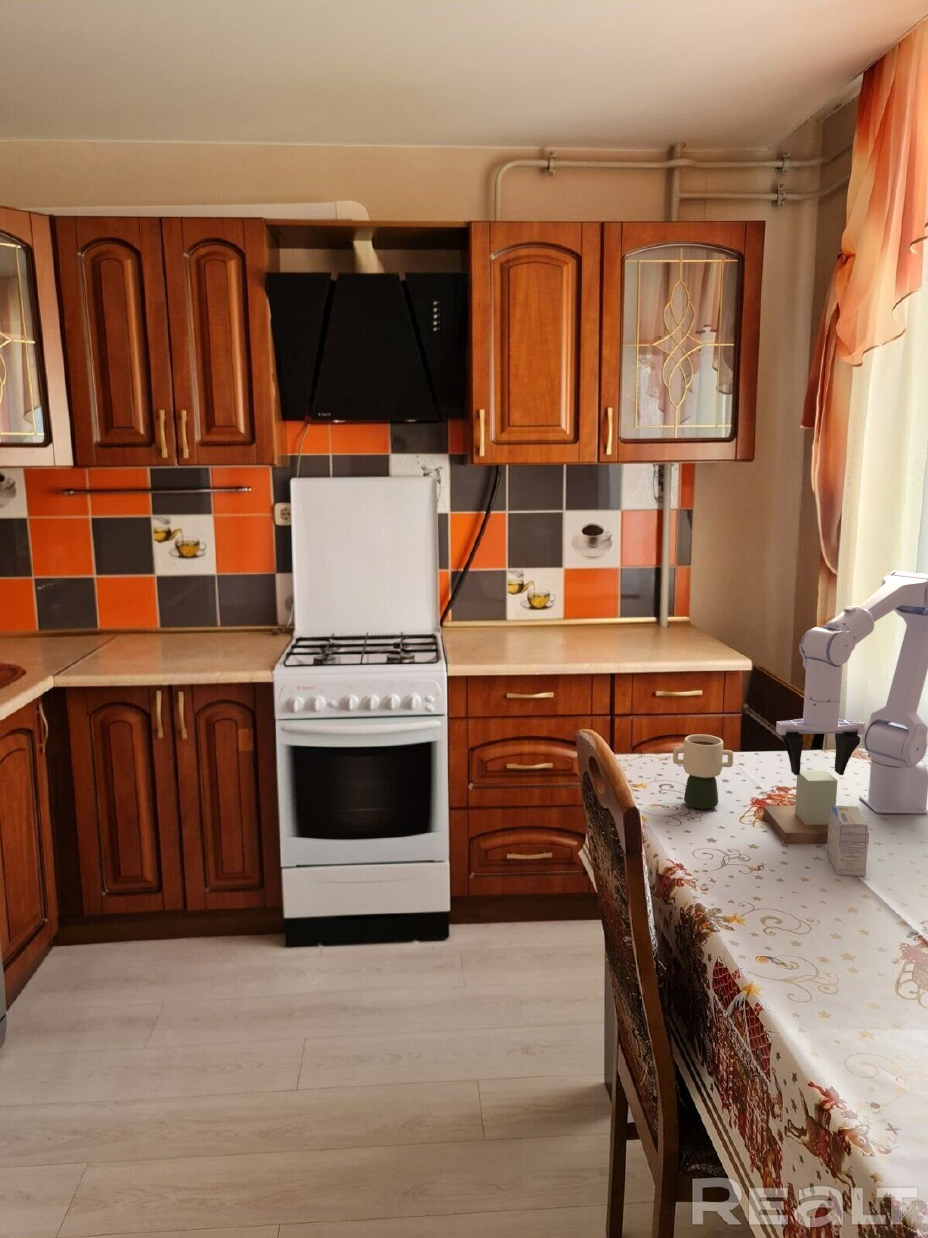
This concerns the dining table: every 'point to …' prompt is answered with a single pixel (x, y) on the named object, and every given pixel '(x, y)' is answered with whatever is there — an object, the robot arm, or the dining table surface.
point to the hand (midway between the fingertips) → (817, 773)
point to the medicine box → (847, 840)
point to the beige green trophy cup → (702, 768)
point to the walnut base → (794, 826)
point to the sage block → (815, 796)
